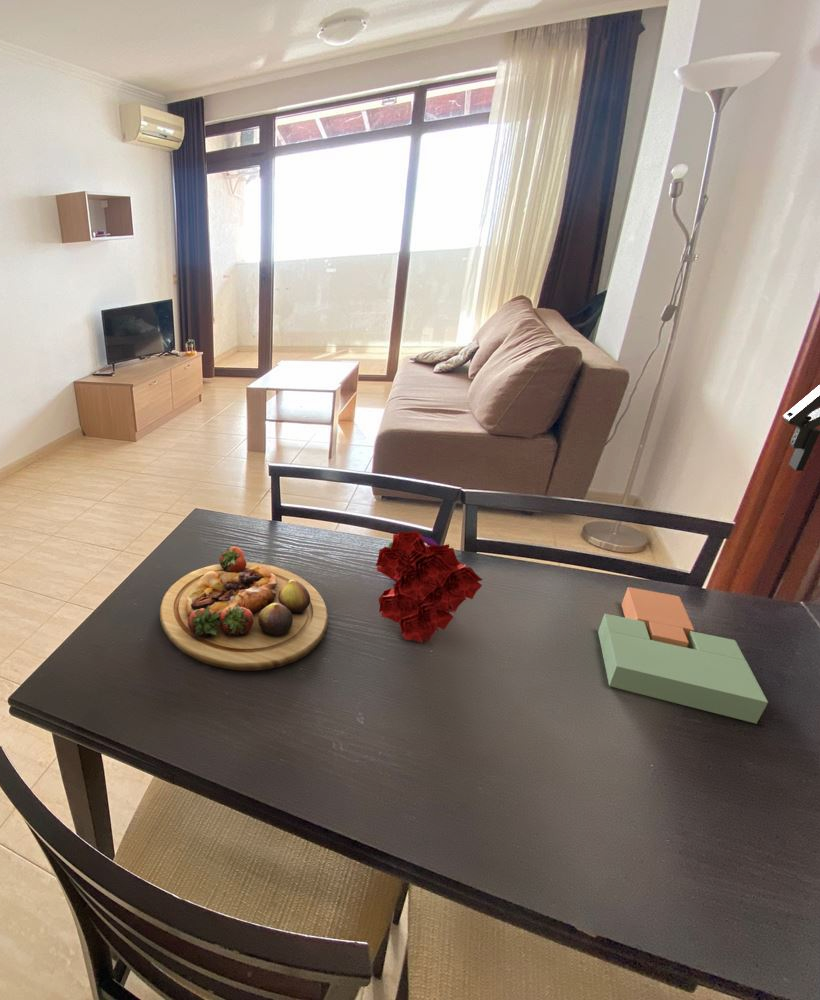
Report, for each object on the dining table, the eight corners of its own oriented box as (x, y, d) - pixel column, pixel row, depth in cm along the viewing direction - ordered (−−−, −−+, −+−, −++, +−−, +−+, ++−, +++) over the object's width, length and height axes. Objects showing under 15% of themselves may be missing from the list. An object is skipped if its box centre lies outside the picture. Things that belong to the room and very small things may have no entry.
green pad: (725, 660, 85) (735, 640, 83) (756, 723, 74) (768, 702, 72) (597, 632, 92) (604, 613, 91) (609, 686, 82) (616, 666, 80)
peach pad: (672, 614, 95) (679, 596, 93) (692, 665, 84) (701, 645, 83) (621, 604, 98) (627, 586, 97) (634, 652, 88) (642, 632, 86)
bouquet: (434, 584, 119) (477, 651, 90) (355, 579, 123) (372, 641, 94) (443, 498, 114) (491, 539, 86) (361, 495, 118) (380, 534, 90)
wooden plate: (180, 564, 123) (178, 533, 119) (326, 576, 114) (328, 542, 110) (140, 661, 95) (135, 623, 92) (328, 686, 86) (331, 646, 83)
